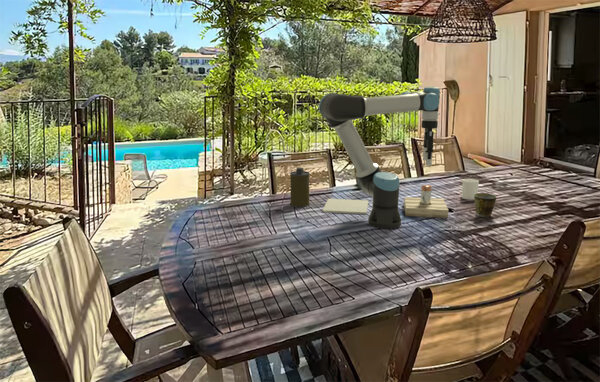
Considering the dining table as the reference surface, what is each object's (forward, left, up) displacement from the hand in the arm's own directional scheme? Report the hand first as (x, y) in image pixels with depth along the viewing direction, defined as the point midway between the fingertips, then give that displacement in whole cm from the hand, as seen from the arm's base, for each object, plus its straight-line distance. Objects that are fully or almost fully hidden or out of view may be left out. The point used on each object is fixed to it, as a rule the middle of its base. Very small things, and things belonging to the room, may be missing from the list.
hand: (426, 163), depth 220 cm
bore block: (0, -1, -25) cm, 25 cm away
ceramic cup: (-4, -28, -25) cm, 37 cm away
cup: (+31, -27, -25) cm, 47 cm away
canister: (+1, +64, -25) cm, 69 cm away
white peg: (0, -1, -25) cm, 25 cm away
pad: (0, +39, -25) cm, 47 cm away
